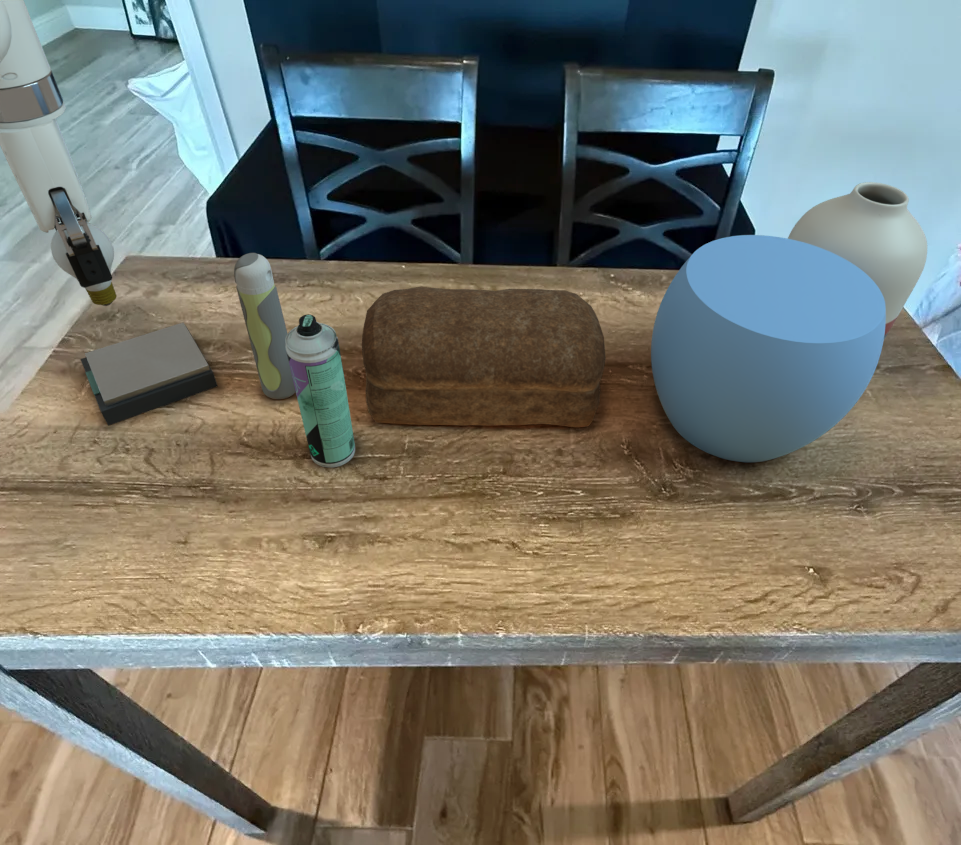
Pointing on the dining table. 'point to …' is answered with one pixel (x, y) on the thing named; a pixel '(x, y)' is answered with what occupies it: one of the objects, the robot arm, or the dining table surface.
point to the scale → (147, 373)
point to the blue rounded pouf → (764, 345)
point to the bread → (482, 357)
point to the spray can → (321, 391)
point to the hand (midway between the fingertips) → (89, 266)
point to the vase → (871, 239)
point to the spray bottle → (264, 324)
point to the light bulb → (103, 291)
